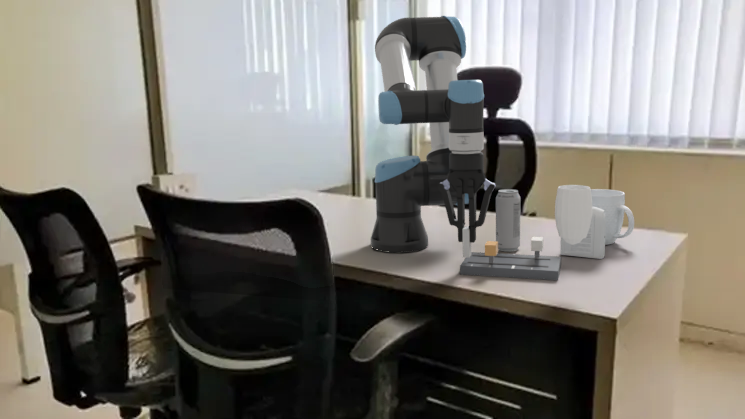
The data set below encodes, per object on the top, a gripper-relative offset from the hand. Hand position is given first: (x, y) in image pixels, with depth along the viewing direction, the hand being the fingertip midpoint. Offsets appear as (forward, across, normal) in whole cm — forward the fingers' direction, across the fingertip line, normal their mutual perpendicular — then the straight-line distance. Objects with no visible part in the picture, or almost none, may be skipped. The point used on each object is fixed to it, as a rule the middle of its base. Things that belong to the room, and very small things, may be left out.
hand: (467, 256), depth 147 cm
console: (+4, +10, +3) cm, 11 cm away
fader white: (+1, +15, +6) cm, 16 cm away
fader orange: (+1, +6, 0) cm, 6 cm away
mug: (+4, +29, +32) cm, 44 cm away
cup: (+4, +23, -7) cm, 24 cm away
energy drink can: (+4, +6, +21) cm, 22 cm away
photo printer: (+4, +24, +18) cm, 31 cm away
